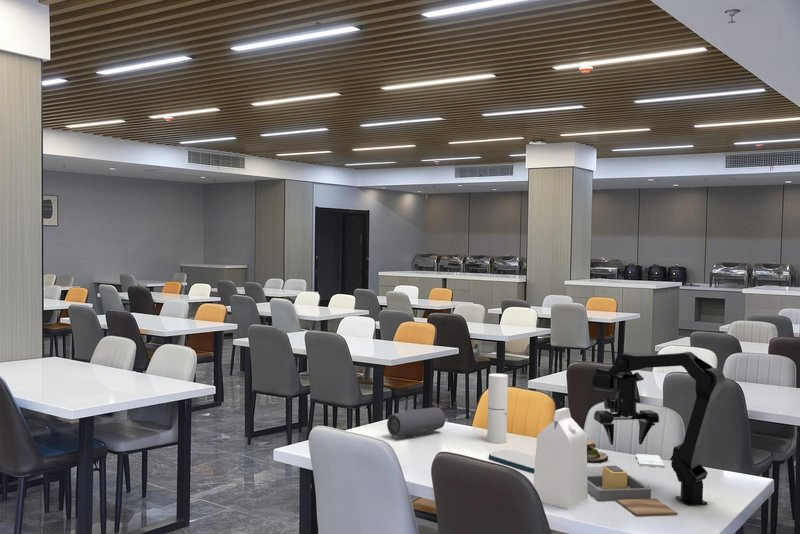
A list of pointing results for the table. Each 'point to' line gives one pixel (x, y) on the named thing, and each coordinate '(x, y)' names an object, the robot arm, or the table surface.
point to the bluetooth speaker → (415, 422)
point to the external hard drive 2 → (650, 460)
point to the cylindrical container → (497, 408)
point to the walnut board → (646, 507)
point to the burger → (594, 453)
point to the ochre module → (614, 478)
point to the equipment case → (595, 480)
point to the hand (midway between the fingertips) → (625, 444)
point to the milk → (561, 462)
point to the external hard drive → (514, 459)
